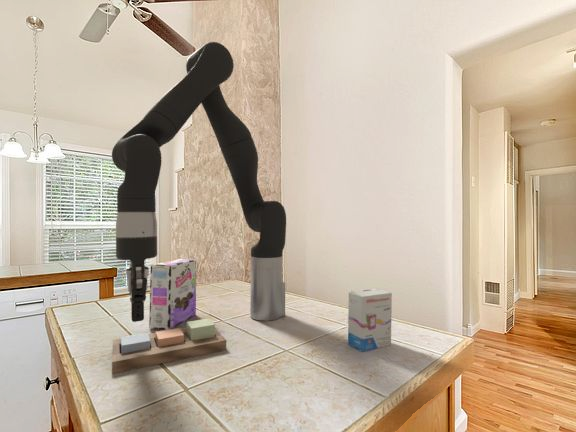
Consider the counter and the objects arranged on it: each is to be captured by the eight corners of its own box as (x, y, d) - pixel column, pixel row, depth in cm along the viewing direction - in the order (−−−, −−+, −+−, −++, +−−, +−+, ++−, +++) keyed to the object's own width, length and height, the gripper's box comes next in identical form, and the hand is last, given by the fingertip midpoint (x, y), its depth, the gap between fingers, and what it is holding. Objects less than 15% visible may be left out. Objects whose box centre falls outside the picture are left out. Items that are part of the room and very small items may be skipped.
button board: (210, 332, 75) (211, 323, 75) (226, 349, 65) (226, 340, 65) (112, 349, 65) (112, 339, 65) (111, 373, 54) (112, 362, 54)
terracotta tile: (179, 341, 68) (179, 327, 68) (183, 349, 64) (184, 334, 64) (155, 345, 66) (155, 331, 66) (158, 354, 61) (158, 339, 61)
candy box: (169, 331, 76) (170, 264, 76) (148, 329, 77) (149, 264, 77) (196, 314, 89) (197, 258, 90) (178, 313, 90) (179, 258, 91)
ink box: (362, 353, 63) (362, 295, 63) (347, 344, 67) (347, 290, 68) (392, 345, 67) (392, 291, 67) (376, 337, 71) (376, 287, 72)
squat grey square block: (147, 347, 65) (147, 332, 65) (149, 355, 60) (150, 340, 61) (120, 351, 62) (121, 337, 62) (121, 361, 58) (121, 345, 58)
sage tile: (208, 331, 71) (208, 318, 71) (214, 338, 67) (214, 324, 67) (186, 335, 69) (186, 321, 69) (191, 342, 64) (191, 328, 64)
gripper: (161, 235, 58) (162, 326, 58) (153, 233, 70) (154, 309, 69) (116, 236, 54) (116, 334, 54) (115, 234, 66) (116, 314, 66)
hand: (137, 320), depth 62 cm, fingers closed
